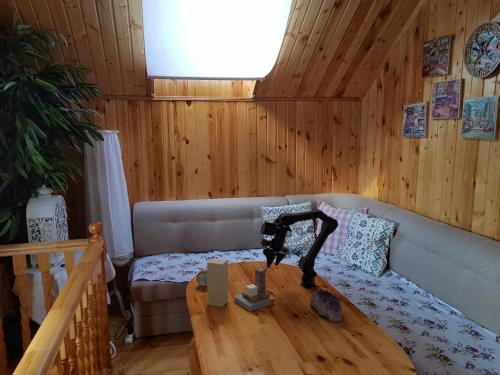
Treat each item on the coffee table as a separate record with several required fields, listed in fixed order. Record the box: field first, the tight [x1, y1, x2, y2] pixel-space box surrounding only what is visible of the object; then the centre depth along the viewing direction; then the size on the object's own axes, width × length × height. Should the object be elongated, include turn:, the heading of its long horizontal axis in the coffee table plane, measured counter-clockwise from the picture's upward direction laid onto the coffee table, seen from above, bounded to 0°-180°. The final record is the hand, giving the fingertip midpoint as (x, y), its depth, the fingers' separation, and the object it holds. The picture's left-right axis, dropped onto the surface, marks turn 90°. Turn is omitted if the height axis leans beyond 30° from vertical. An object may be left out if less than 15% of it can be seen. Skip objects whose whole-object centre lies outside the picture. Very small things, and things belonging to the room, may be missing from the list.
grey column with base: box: [241, 267, 271, 303], centre depth 194 cm, size 10×9×13 cm
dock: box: [233, 293, 275, 312], centre depth 194 cm, size 14×13×3 cm
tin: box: [195, 269, 207, 288], centre depth 213 cm, size 15×3×8 cm, turn 84°
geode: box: [309, 288, 343, 323], centre depth 184 cm, size 20×12×10 cm, turn 20°
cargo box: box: [245, 283, 258, 297], centre depth 193 cm, size 4×4×4 cm
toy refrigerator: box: [206, 257, 229, 308], centre depth 193 cm, size 8×7×21 cm
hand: (271, 266), depth 208 cm, fingers open, 9 cm apart
